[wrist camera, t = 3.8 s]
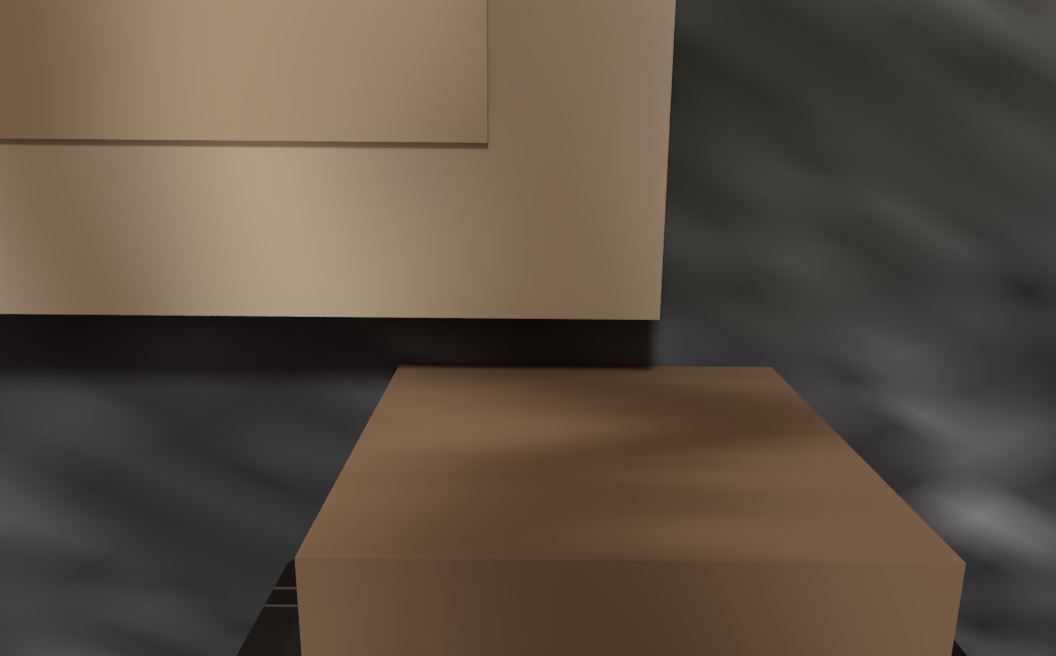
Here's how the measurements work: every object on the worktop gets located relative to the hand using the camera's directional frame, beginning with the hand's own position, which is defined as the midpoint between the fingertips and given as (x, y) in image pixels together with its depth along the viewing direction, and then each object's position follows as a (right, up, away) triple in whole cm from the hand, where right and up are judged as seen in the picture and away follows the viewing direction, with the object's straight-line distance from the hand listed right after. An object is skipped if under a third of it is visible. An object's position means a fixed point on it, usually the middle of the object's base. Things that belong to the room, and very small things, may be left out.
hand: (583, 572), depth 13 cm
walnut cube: (0, 0, +1) cm, 1 cm away
